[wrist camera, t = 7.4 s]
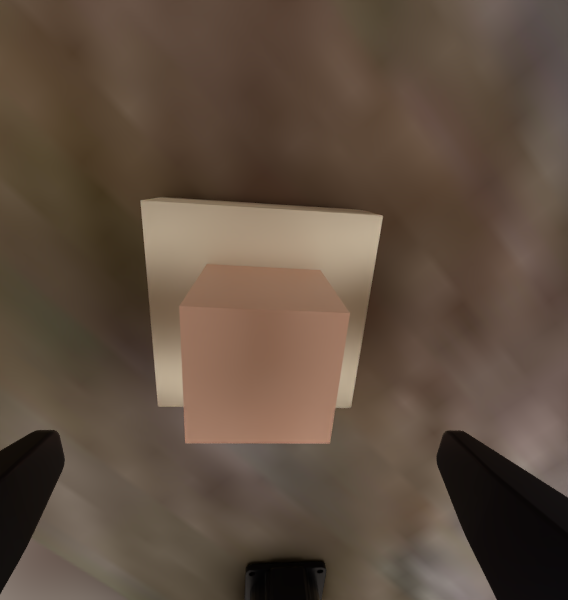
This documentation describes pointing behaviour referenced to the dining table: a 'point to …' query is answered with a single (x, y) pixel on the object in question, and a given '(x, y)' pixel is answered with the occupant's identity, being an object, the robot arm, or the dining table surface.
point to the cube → (261, 355)
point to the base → (252, 252)
